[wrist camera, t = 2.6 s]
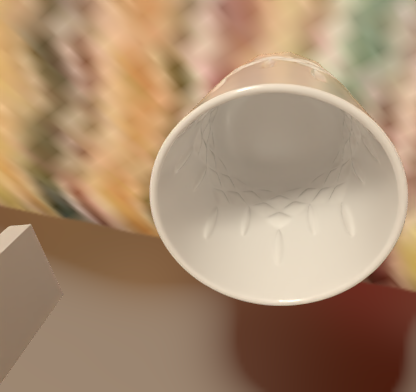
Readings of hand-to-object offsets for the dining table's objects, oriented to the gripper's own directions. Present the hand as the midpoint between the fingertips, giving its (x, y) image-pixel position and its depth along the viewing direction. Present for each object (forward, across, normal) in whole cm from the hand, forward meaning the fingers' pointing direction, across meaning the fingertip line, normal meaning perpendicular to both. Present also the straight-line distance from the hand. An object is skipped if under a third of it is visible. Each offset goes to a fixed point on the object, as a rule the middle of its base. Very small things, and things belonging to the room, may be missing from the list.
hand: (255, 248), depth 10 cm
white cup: (+12, 0, 0) cm, 12 cm away
